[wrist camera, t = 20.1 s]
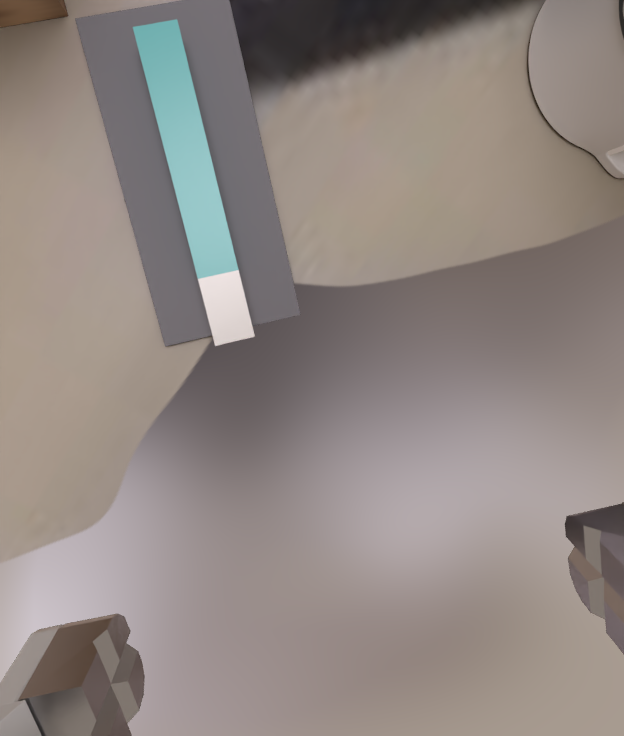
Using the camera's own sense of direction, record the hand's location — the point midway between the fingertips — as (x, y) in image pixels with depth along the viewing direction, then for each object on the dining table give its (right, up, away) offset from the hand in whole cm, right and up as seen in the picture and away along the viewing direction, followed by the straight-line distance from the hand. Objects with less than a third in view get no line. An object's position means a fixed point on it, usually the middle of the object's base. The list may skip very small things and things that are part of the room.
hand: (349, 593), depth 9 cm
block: (-9, +17, +30) cm, 36 cm away
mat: (-10, +19, +30) cm, 37 cm away
